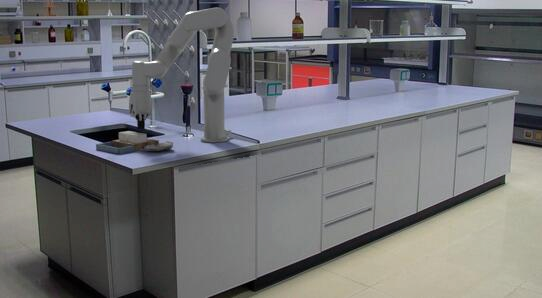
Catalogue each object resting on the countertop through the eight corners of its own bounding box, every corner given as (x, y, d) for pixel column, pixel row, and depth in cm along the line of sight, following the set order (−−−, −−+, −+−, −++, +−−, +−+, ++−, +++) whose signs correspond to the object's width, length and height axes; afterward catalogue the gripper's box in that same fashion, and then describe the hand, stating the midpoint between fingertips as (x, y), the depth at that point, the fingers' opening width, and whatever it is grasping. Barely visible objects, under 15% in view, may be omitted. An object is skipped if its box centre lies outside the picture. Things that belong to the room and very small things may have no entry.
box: (111, 147, 263) (111, 141, 262) (134, 151, 253) (134, 145, 252) (96, 149, 257) (96, 144, 256) (118, 154, 247) (118, 148, 246)
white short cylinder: (129, 138, 267) (128, 131, 267) (136, 139, 264) (136, 132, 263) (119, 140, 263) (118, 132, 262) (126, 141, 260) (126, 133, 259)
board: (137, 143, 273) (137, 136, 272) (159, 146, 264) (158, 140, 263) (112, 147, 262) (112, 140, 262) (133, 151, 253) (133, 144, 252)
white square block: (138, 140, 263) (138, 132, 262) (146, 141, 259) (146, 133, 259) (128, 142, 259) (128, 134, 258) (136, 143, 255) (136, 135, 255)
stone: (151, 153, 247) (151, 146, 246) (141, 151, 254) (141, 143, 253) (176, 149, 254) (176, 142, 254) (166, 147, 261) (165, 139, 261)
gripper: (148, 87, 274) (148, 126, 277) (121, 88, 262) (122, 129, 266) (159, 88, 269) (159, 128, 272) (132, 90, 258) (132, 131, 261)
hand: (141, 128), depth 269 cm, fingers closed
